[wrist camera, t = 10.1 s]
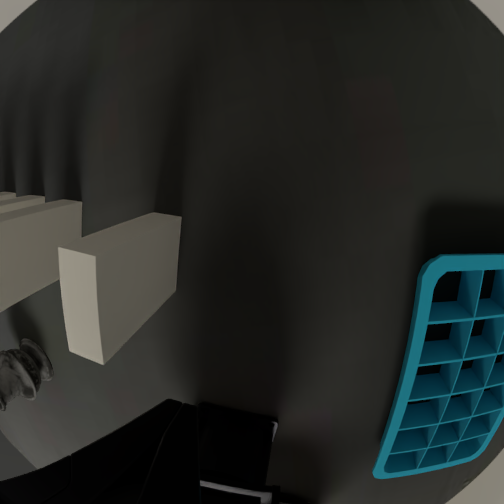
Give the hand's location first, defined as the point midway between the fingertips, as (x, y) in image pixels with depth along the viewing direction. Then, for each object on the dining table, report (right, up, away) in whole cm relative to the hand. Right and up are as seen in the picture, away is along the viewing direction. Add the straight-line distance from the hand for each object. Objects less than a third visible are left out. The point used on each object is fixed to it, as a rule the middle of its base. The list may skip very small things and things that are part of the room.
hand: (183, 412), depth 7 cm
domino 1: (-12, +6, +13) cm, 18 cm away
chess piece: (-21, -7, +18) cm, 29 cm away
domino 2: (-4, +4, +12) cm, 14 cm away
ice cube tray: (+18, -5, +12) cm, 22 cm away
